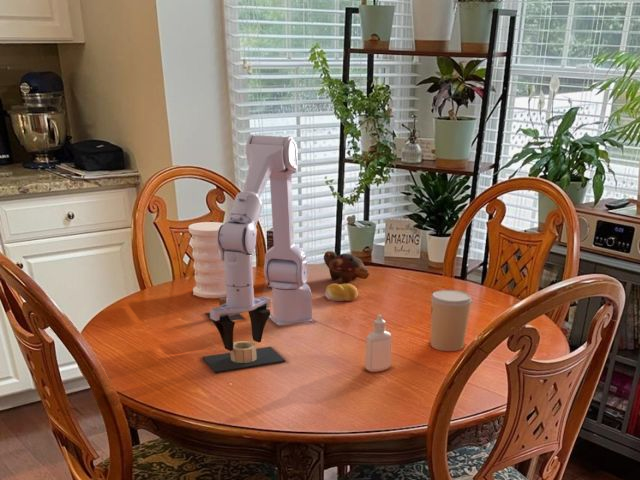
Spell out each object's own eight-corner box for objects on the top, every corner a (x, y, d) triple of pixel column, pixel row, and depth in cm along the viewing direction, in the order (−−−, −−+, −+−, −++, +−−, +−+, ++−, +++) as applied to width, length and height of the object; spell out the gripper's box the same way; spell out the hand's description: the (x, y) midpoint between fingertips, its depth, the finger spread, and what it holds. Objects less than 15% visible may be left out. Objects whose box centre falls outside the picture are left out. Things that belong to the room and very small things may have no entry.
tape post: (234, 311, 186) (233, 292, 183) (244, 320, 180) (243, 301, 177) (204, 315, 182) (202, 295, 180) (213, 324, 176) (212, 304, 174)
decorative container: (186, 297, 195) (179, 229, 185) (203, 285, 204) (197, 220, 195) (226, 301, 193) (221, 232, 183) (241, 289, 202) (237, 223, 193)
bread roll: (361, 300, 197) (362, 286, 195) (330, 303, 194) (330, 288, 192) (351, 292, 203) (352, 278, 201) (321, 294, 200) (321, 280, 198)
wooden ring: (245, 351, 161) (245, 339, 159) (261, 358, 157) (261, 346, 156) (225, 357, 157) (224, 344, 156) (241, 365, 154) (240, 352, 152)
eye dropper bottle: (391, 372, 154) (394, 318, 148) (366, 372, 153) (368, 318, 147) (389, 364, 158) (391, 311, 151) (363, 364, 157) (365, 311, 151)
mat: (270, 348, 164) (270, 346, 164) (285, 361, 157) (285, 360, 157) (202, 358, 157) (202, 356, 157) (215, 373, 151) (215, 371, 150)
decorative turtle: (328, 273, 219) (331, 246, 215) (373, 283, 215) (377, 256, 211) (314, 279, 212) (317, 251, 208) (361, 289, 207) (364, 262, 203)
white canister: (444, 335, 174) (448, 286, 168) (474, 346, 169) (480, 296, 163) (419, 344, 169) (422, 294, 163) (449, 355, 163) (454, 304, 157)
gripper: (255, 273, 155) (258, 332, 162) (199, 285, 146) (204, 348, 153) (275, 280, 151) (277, 341, 158) (219, 293, 142) (224, 357, 149)
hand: (243, 345), depth 155 cm, fingers open, 7 cm apart
